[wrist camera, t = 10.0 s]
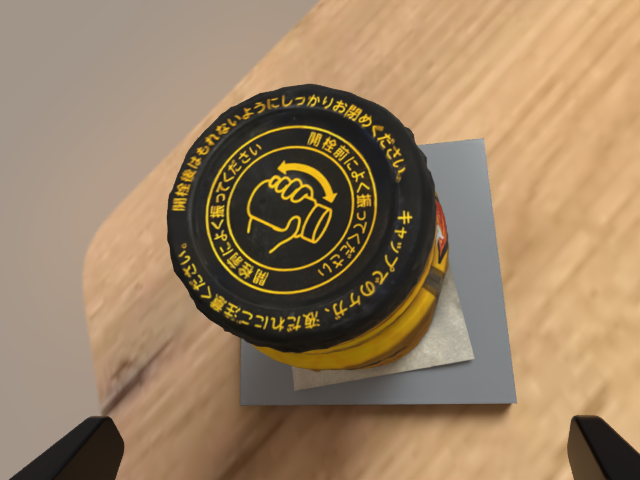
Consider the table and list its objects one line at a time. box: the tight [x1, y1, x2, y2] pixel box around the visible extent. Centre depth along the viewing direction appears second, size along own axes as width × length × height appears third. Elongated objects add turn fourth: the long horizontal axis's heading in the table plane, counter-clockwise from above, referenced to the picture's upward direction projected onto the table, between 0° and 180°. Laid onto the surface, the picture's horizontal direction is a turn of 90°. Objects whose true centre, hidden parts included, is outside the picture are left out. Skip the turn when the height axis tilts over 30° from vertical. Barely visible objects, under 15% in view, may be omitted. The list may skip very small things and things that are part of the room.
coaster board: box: [240, 138, 517, 406], centre depth 20 cm, size 11×11×1 cm
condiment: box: [167, 84, 475, 391], centre depth 14 cm, size 7×8×12 cm
